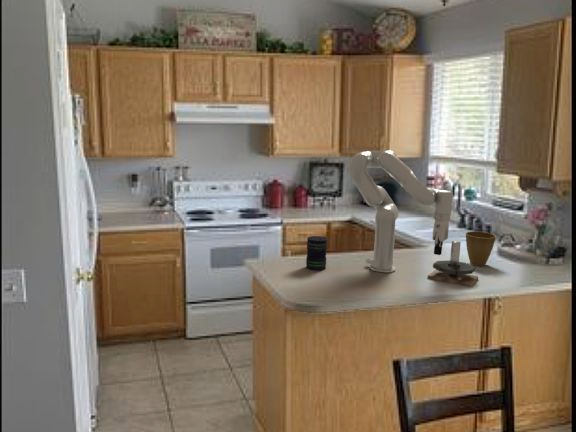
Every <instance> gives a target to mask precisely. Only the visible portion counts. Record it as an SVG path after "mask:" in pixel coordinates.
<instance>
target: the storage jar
mask: <svg viewBox="0 0 576 432" xmlns="http://www.w3.org/2000/svg"><path fill="white" fill-rule="evenodd" d="M306 250H307V252H306V253H307V254H306V258H305V259H306V260H305V261H306V262H305V264H306V266H305V268H306V269H307V270H309V271H313V272H320V271H326V268H327V267H326V266H327V250H328V237H325V236H319V235H314V236H313V235H312V236H308V237H307V242H306Z"/></svg>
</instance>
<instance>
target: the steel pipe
mask: <svg viewBox="0 0 576 432" xmlns="http://www.w3.org/2000/svg"><path fill="white" fill-rule="evenodd" d="M461 243H462V241H459V240H452V241H451V246H450V259H449V261H450V267H458V266H459V262H460V255H461V254H460V253H461ZM449 276H451V277H457V276H458V275H457V274H450V273H449Z"/></svg>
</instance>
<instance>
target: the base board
mask: <svg viewBox="0 0 576 432" xmlns="http://www.w3.org/2000/svg"><path fill="white" fill-rule="evenodd" d="M426 278H427V279H429V280H435V281H439V282H444V283H451V284H456V285H461V286H465V287H472V286H473V285H474V284H475V283H476V282H477V281H478V280H479V276H478V275H472V274H458V276H457V277H451V276H449V273H445V272H441V271H438V270H436V269H434V270H433V271H432V272H430V273H429V274H427V277H426Z"/></svg>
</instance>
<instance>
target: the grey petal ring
mask: <svg viewBox="0 0 576 432" xmlns="http://www.w3.org/2000/svg"><path fill="white" fill-rule="evenodd" d="M432 268H433V269H434V270H438V271H441V272H445V273H450V274H457V275H458V274H468V275H472V274H473V273H475V271H476V266H475V265H472V264H471V263H468V262H467V263H466V262H463V261H459V266H458V267H450V260H436V261H435V262H433V263H432Z"/></svg>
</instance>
